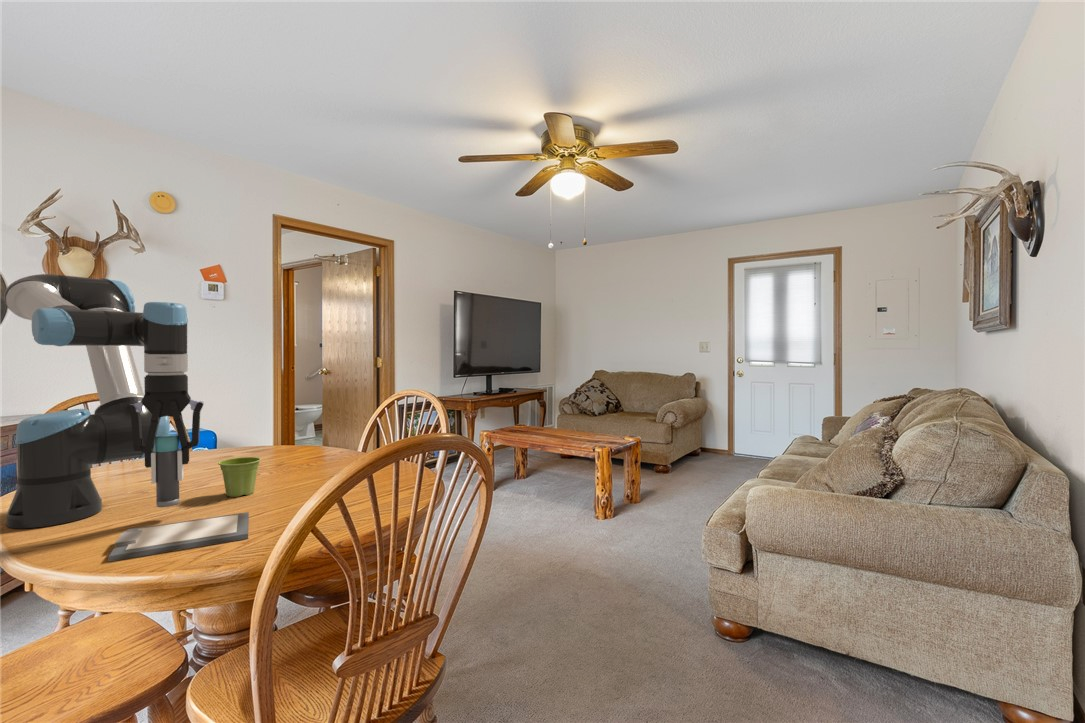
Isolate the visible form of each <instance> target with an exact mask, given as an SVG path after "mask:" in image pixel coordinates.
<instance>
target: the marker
mask: <svg viewBox="0 0 1085 723" xmlns="http://www.w3.org/2000/svg"><path fill="white" fill-rule="evenodd" d="M155 446H156V483H155V486H156V488H155V489H156V490H155V491H156V500H155V501H156V502H155V503H156V507H157V508H169V507H174V506H178V504H180V481H178V457H177V451H178V450H179V449H180V441H179V437H178V434H169V435H163V436H157V437H155Z"/></svg>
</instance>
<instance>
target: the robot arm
mask: <svg viewBox="0 0 1085 723" xmlns="http://www.w3.org/2000/svg"><path fill="white" fill-rule="evenodd" d="M3 294H4V295H3V301H4V304H5V306H6V308H7V309H8V310H9V311H10V312H12V314H14V315H15V316H17V317H19V318H22V319H24V320H28V321H31V333H32V337H33V339H34V342H36V343H37V344H38V345H40V346H41V345H42V346H55V347H67V346H70V347H71V346H73V347H74V346H75V347H76V346H78V347H79V346H81V347H83V346H85V347H86V351H87V355H88V356H87V357H88V360H89V364H90V367H91V371H92V376H93V379H94V383H95V389H96V393H97V396H98V401H99V404H100V405H98V406H97V407H96V408H95V409H94V414H93V413H92V414H91V412H90V410H89V409H87V408H75V409H66V410H58V411H52V412H47V413H43V414H42V413H41V414H37V415H33V416H30V417H27V418H23V419H22V420H21V421H19V422H18V424H17V427H16V434H15V440H14V444H15V445H16V470H17V471H16V473H17V474H16V476H17V488H16V490H15V493H14V496H13V497H12V500H11V503H10V505H9V507H8V510H7V513H6V515H5V516H6V517H5V518H6V520H5V521H6V523H5V524H6V527H8V528H10V529H11V528H13V529H33V528H35V529H36V528H41V527H42V528H43V527H44V528H45V527H51V526H56V525H62V524H66V523H71V522H72V523H73V522H74V521H75V522H77V521H78V520H82V519H83V520H84V519H86V518H89V517H91V516H94V515H97V514H98V513H100V512H101V511H102V509H103V503H102V498H101V495H100V494H99V491H98V490H97V487H96V485H95V483H94V481H93V479H92V475H91V474H92V473H91V472H92V469H91V468H92V465H97V464H105V463H112V462H118V461H127V460H134V459H143V458H144V467H145V468H150V474H151V475H150V476H151V478H150V480H151V484H156V446H155V437H157V436H163V435H170V429H171V428H170V427H171V423H170V422H171V421H170V418H171V417H172V419H173V421H174V424H175V429H176V432H177V435H178V437H179V445H180V448H179V450H178V451H177V457H178V481H179V482H180V481H183V479H184V465H188V464H189V462H190V449H192V448H194V447H197V446H198V445H199V444H200V430H201V429H200V426H201V411H202V409H203V406H204V404H205V403H204V401H201V400H199V401H198V400H194V399H192V398H191V396H190V394H189V392H188V391H189V384H188V383H189V380H188V379H189V377H188V374H186V373H187V372H188V369H189V368H188V366H189V365H188V361H189V360H188V359H189V358H188V357H189V356H188V323H189V318H188V313H187V312H188V311H187V306H185V304H182V303H177V302H168V301H167V302H166V301H165V302H164V301H162V302H161V301H149V302H145V303H144V305H143V311H142V312H136V305H135V298H134V294H133V293H132V291H131V288H130V287H129V286H128V285H127V284H126V283H125V282H124V281H120V280H115V279H114V280H113V279H109V278H105V277H104V278H95V277H94V278H93V277H81V276H74V275H73V276H72V275H65V274H64V275H61V274H54V273H48V274H47V273H42V274H41V273H40V274H33V275H27V276H24V277H20V278H19V279H16V280H15V281H14V282H12V283H10V284H9V285H8V286H7V287H6V289H5V291H4V293H3ZM131 347H143V355H144V356H143V358H144V359H143V366H144V367H143V368H144V373H146V375H145V376H144V377H143V379H144V380H143V381H144V382H143V383H144V384H143V385H144V390H143V387H142V384H141V380H140V377H139V373H138V370H137V367H136V366H137V365H136V362H135V359H134V356H133V352H132V348H131ZM188 405H190V409H191V411H192V421H191V422H192V426H191V440H190V441H189V439H188V435H187V430H186V426H185V423H184V420H183V419H184V418H183V414H182V412H183V411H184V410H185V409H186V408H187V406H188Z"/></svg>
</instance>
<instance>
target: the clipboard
mask: <svg viewBox="0 0 1085 723" xmlns="http://www.w3.org/2000/svg"><path fill="white" fill-rule="evenodd" d="M249 514H250V513H249V511H246V512H241V513H233V514H226V515H218V516H212V517H205V518H197V519H192V520H191V519H190V520H184V521H177V522H169V523H164V524H157V525H155V524H154V525H150V526H144V527H143V526H141V527H136V528H129V529H127V530H125V531H124V532H121V534H120V535H119V536H118V538H117V539H116V541H115V542H114V548H113V549H112V551H111V552H110V554H109V555H108V562H109V563H111V562H116V561H121V560H127V559H135V558H139V557H141V558H142V557H147V556H152V555H158V554H159V555H160V554H164V553H168V552H170V553H171V552H176V551H182V550H189V549H193V548H194V549H195V548H199V547H206V546H211V545H218V544H225V543H230V542H236V541H241V540H242V541H243V540H249V527H250V526H249V521H250V520H249V518H250V515H249Z"/></svg>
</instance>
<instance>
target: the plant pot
mask: <svg viewBox="0 0 1085 723" xmlns="http://www.w3.org/2000/svg"><path fill="white" fill-rule="evenodd" d="M261 461H262V458H261V457H257V456H242V457H241V456H239V457H232V458H228V459H222V460H220V461H218V463H217V464H218V465H219V466H220V470H221V472H222V478H223V483H224V488H225V494H226V495H225V496H228V497H229V498H230V497H231V498H232V497H234V498H236V497H237V498H239V497H242V496H243V495H246V496H249V495H251V494H254V492H255V486H256V480H257V473H258V467H259V466H260V462H261Z"/></svg>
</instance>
